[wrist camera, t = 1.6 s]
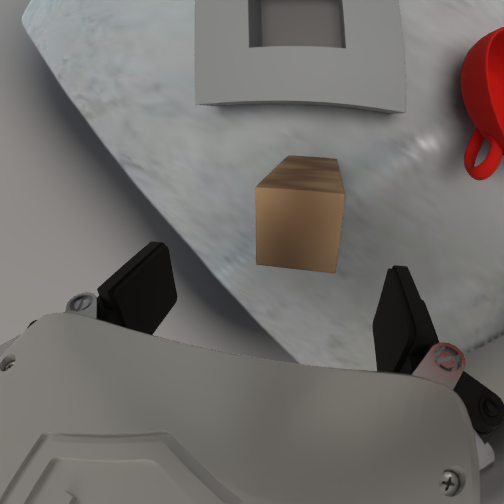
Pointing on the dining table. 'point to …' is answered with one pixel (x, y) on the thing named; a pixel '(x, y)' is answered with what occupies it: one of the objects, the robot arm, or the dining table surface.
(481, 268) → the dining table surface
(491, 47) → the ceramic cup
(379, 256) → the dining table surface
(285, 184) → the brown rectangular block
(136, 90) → the dining table surface
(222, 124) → the dining table surface
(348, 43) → the well block
